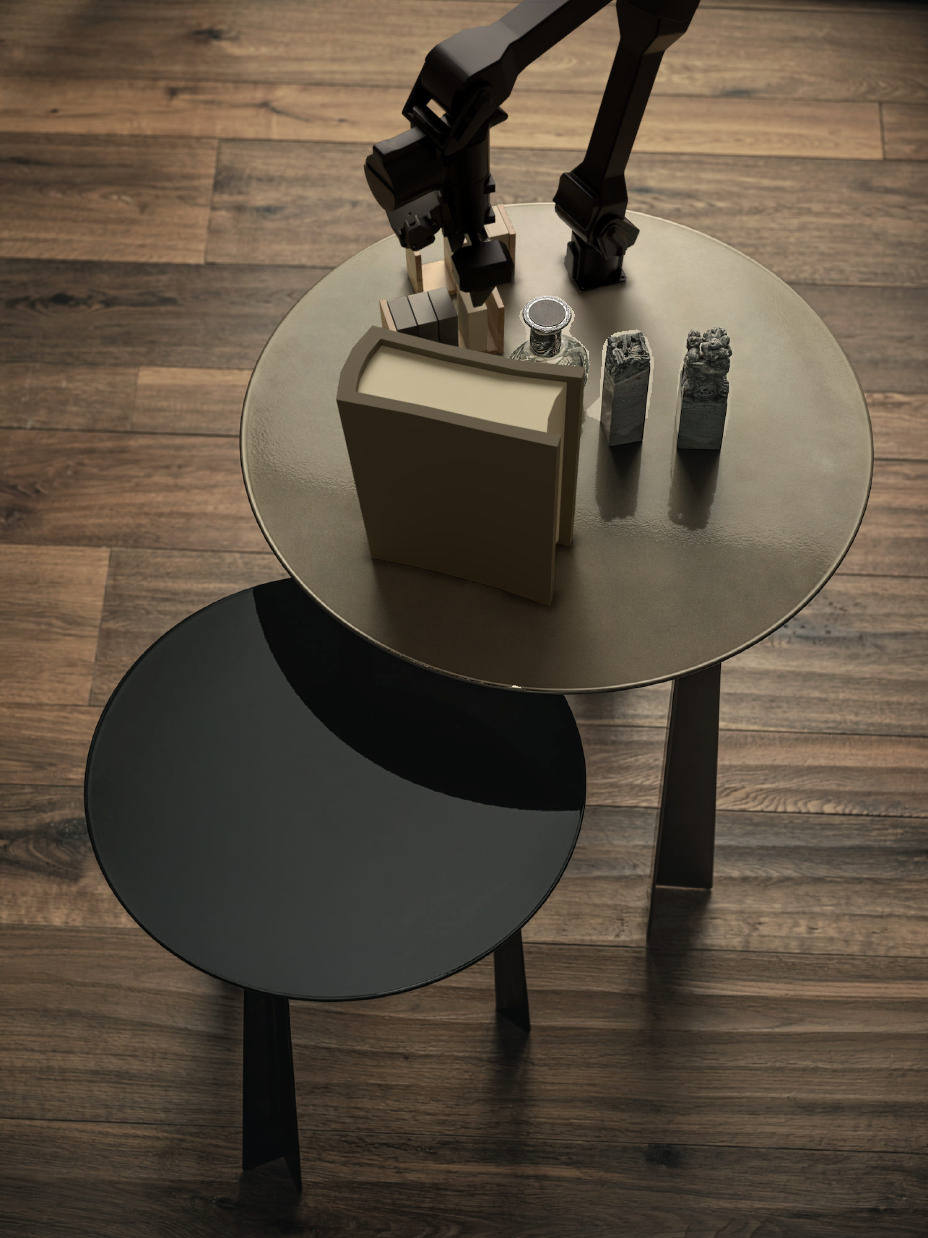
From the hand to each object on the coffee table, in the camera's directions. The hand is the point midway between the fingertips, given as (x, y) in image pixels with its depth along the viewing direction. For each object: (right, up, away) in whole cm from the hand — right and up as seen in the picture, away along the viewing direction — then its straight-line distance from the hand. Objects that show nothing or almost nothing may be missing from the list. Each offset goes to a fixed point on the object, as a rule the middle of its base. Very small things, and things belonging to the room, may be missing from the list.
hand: (466, 278), depth 128 cm
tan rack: (-3, -6, +8) cm, 11 cm away
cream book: (+1, -5, +8) cm, 10 cm away
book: (0, -32, -5) cm, 32 cm away
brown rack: (-1, +5, +14) cm, 15 cm away
